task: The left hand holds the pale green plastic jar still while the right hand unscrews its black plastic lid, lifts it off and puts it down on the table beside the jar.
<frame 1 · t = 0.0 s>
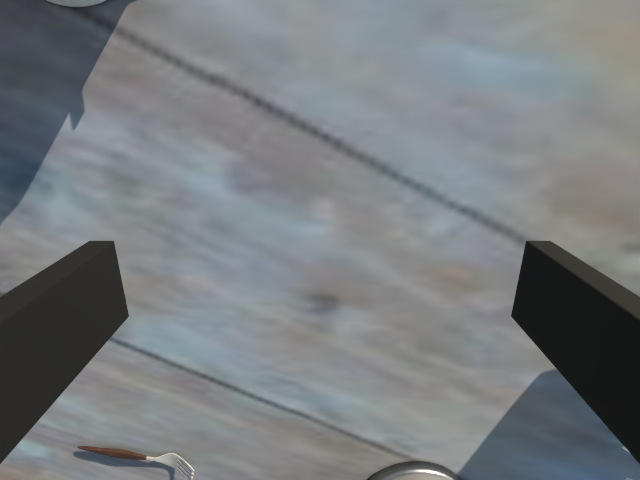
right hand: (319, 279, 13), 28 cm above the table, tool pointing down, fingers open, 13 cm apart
fork: (140, 452, 53), on the table
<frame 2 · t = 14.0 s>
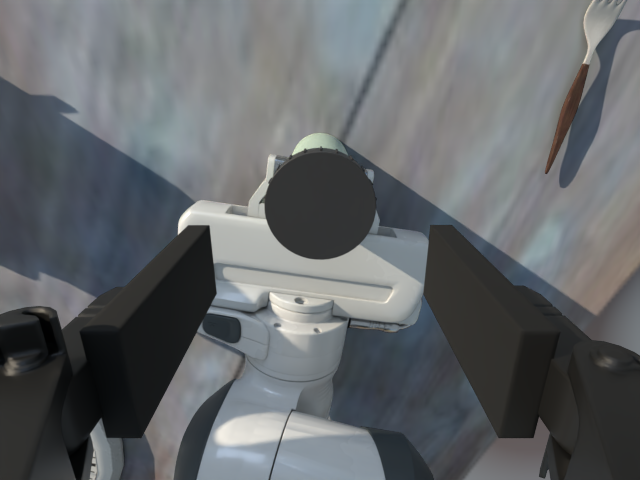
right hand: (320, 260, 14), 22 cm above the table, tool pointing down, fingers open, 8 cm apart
left hand: (321, 162, 29), fingers closed on jar, 5 cm apart
jar: (320, 161, 35), on the table, touching left hand
lid: (320, 206, 21), point 15 cm above the table, screwed on, not yet turned
fork: (575, 79, 32), on the table
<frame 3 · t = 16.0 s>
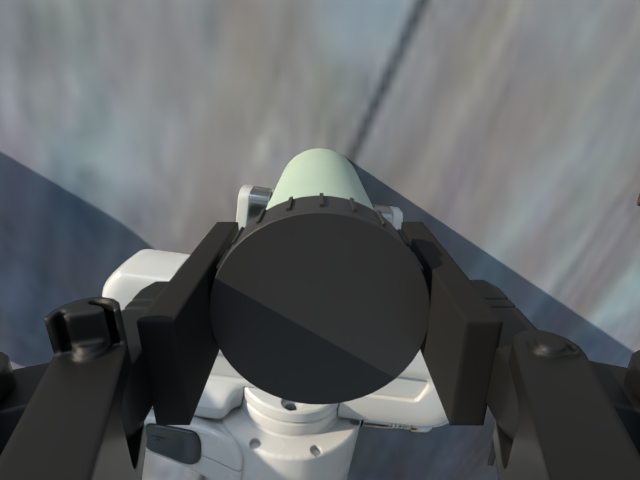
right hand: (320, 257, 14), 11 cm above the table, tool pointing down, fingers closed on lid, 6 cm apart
jar: (319, 188, 25), on the table, touching left hand
lid: (319, 311, 11), point 15 cm above the table, screwed on, not yet turned, touching right hand
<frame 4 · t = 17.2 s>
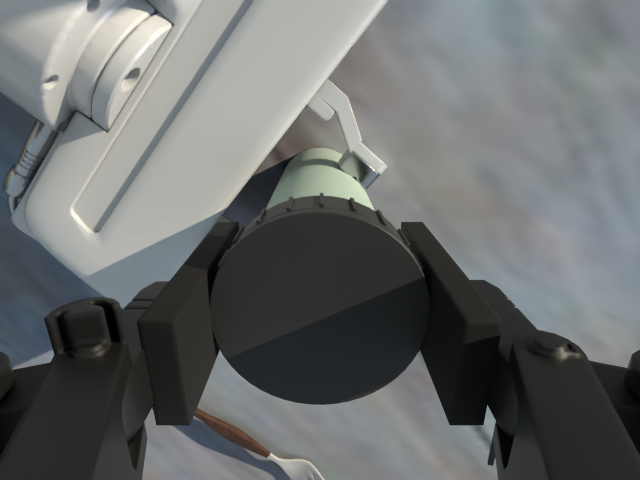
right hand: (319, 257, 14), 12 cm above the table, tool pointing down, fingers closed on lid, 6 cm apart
left hand: (333, 223, 20), fingers closed on jar, 5 cm apart
jar: (319, 187, 25), on the table, touching left hand
lid: (319, 311, 11), point 15 cm above the table, off its thread, touching right hand
fork: (259, 441, 33), on the table
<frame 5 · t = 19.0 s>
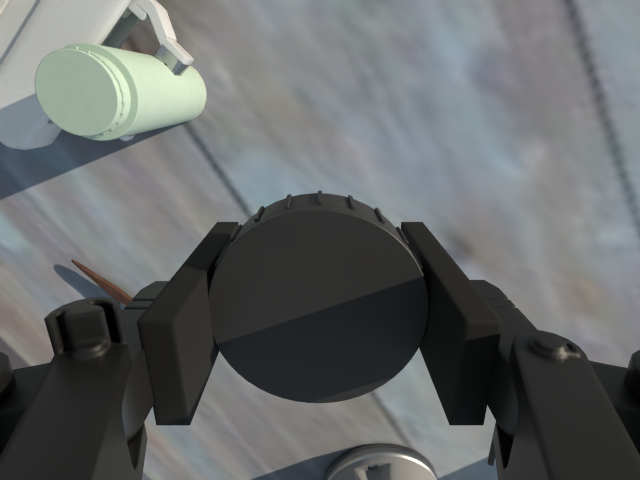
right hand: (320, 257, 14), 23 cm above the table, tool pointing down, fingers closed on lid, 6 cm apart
jar: (177, 92, 34), on the table, touching left hand
lid: (318, 309, 11), point 27 cm above the table, off its thread, touching right hand
fork: (139, 304, 42), on the table
when the right hand's fingers open (0 cm above the table, at t = 23.6 s): lid drops 3 cm, point 1 cm above the table.
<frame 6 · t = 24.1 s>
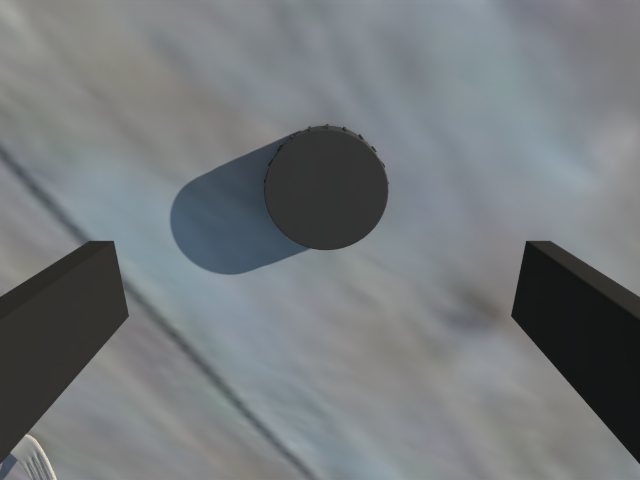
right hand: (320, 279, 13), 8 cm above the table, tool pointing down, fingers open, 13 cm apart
lid: (326, 191, 19), point 1 cm above the table, off its thread
when the left hand's fingers open (6 cm above the table, at t = 24.3 s): jar stays where it is, on the table.
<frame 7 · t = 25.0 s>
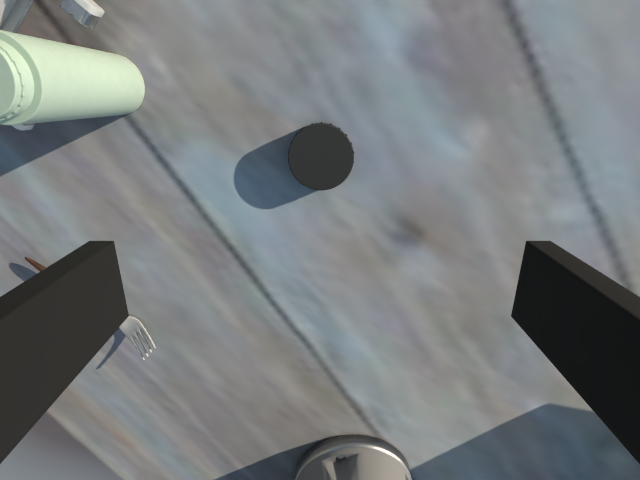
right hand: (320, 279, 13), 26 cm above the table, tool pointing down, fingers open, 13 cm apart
jar: (116, 85, 34), on the table
lid: (321, 157, 35), point 1 cm above the table, off its thread
fork: (96, 300, 42), on the table
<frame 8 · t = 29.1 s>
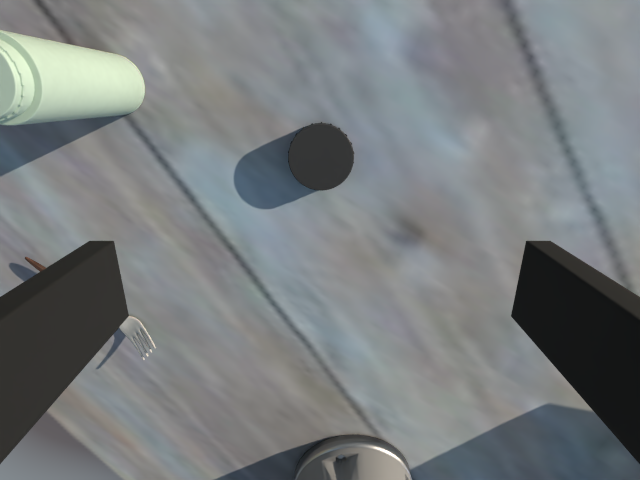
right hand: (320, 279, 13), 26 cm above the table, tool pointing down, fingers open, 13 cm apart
jar: (116, 85, 34), on the table
lid: (321, 157, 35), point 1 cm above the table, off its thread
fork: (96, 300, 42), on the table
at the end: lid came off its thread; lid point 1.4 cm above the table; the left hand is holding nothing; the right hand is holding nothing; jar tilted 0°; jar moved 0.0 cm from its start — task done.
